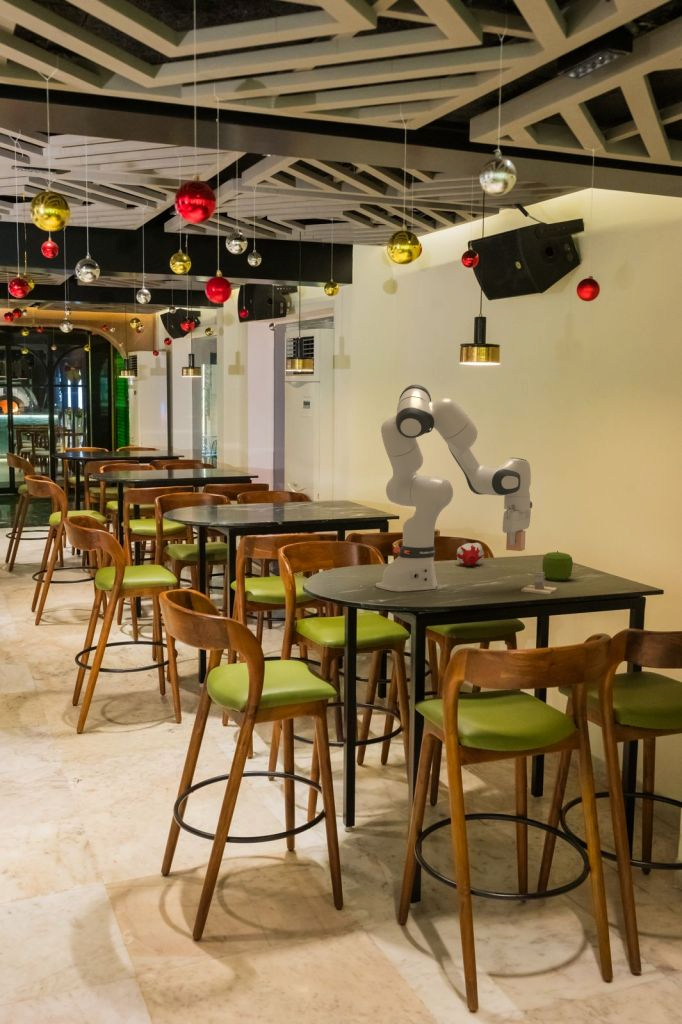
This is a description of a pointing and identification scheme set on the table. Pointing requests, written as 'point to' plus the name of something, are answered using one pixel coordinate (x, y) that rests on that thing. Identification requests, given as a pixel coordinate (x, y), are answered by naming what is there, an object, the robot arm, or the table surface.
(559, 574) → the apple
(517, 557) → the table surface
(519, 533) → the salmon orange block
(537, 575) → the post stand
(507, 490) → the robot arm
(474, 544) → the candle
